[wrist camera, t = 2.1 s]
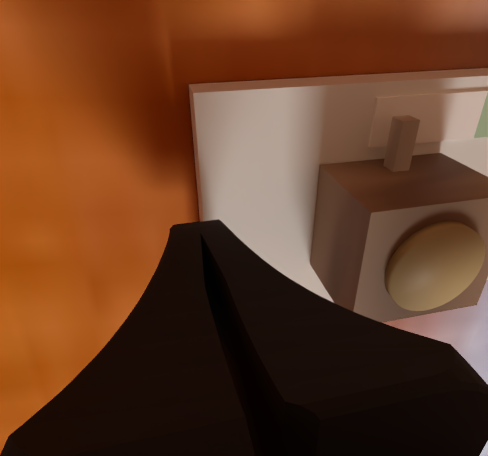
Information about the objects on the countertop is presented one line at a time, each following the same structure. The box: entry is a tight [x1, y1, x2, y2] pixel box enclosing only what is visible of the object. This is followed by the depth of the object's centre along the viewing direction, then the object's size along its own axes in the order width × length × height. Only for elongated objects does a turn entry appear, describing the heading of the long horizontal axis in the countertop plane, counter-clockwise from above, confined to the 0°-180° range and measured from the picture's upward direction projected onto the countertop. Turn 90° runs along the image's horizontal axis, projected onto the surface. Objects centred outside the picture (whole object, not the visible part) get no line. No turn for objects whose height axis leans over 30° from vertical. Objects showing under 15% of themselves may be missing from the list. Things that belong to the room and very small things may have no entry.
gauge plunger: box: [310, 115, 488, 323], centre depth 11 cm, size 4×5×3 cm
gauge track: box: [189, 68, 488, 303], centre depth 13 cm, size 16×8×1 cm, turn 91°
